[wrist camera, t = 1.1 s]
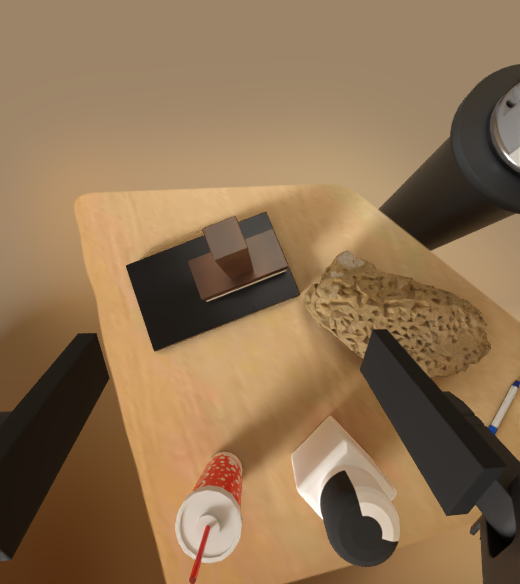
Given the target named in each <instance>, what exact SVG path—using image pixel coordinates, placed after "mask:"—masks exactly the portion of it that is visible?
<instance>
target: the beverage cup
mask: <svg viewBox="0 0 520 584" xmlns="http://www.w3.org/2000/svg"><path fill="white" fill-rule="evenodd" d="M242 473H243V469H242V465H241V462H240V460H239V459H238V458H237V456H235V455H234V454H232V453H231V452H225V451H223V452H219V453H216V454H215V455H214V456H212V457H211V459H210V460H209V462H208V464H207V466H206V467H205V469H204V471H203V473H202V475H201V476H200V478H199V480H198V482H197V484H196V485H195V487H194V489H193V491H192V493H190V494H189V495H188V496H187V497H186V499H185V500H184V502H183V504H182V506H181V507H180V509H179V511H178V513H177V518H176V525H175V530H176V535H177V540H178V543H179V544H180V546H181V547H182V549H183V551H184V552H185V554H187V555H188V556H190V557H191V558H193V559H194V560H195V563H194V566H193V569H192V573H191V576H190V580H189V581H190V583H191V584H194V583H195V582H196V579H197V575H198V571H199V568H200V564H201V562H203V563H209V564H210V563H214V562H218V561H221V560H223V559H224V558H226V557H227V556H228V555H229V554H231V553H232V552H233V551H234V549H235V547H236V545H237V543H238V542H239V540H240V534H241V527H242V515H241V511H240V506H241V490H242Z"/></svg>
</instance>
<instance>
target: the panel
mask: <svg viewBox="0 0 520 584" xmlns="http://www.w3.org/2000/svg"><path fill="white" fill-rule="evenodd" d="M238 224H239V226H240V229H241V231H242V234H243V236H244V239H246V238H249V237H252V236H254V235H257V234H259V233H262V232H265V231H267V230H270V229H273V227H272V224H271V222H270V220H269V217H268V215H267V212H264V213H261V214H259V215H256V216H253V217H251V218H248V219H246V220H243V221H240V222H238ZM273 230H274V229H273ZM275 235H276V234H275ZM277 240H278V239H277ZM278 242H279V241H278ZM280 247H281V246H280ZM210 252H211V251H210V248H209V246H208V243H207V241H206V238H205V235H204V236H201V237H199V238H196V239H194V240H191V241H188V242H186V243H183V244H181V245H178V246H175V247H173V248H170V249H168V250H165V251H162V252H160V253H157V254H155V255H152V256H149V257H147V258H144V259H142V260H139V261H136V262H134V263H131V264H129V265H126V268H127V271H128V274H129V277H130V280H131V283H132V286H133V289H134V292H135V295H136V298H137V301H138V304H139V307H140V310H141V313H142V316H143V319H144V322H145V325H146V328H147V331H148V334H149V337H150V340H151V343H152V346H153V349H154V351H158V350H161V349H164V348H166V347H169V346H171V345H174V344H177V343H179V342H182V341H184V340H187V339H189V338H192V337H195V336H197V335H200V334H202V333H205V332H207V331H210V330H212V329H215V328H218V327H220V326H223V325H225V324H228V323H230V322H233V321H235V320H238V319H241V318H243V317H246V316H248V315H251V314H253V313H256V312H258V311H261V310H264V309H266V308H269V307H271V306H274V305H276V304H279V303H282V302H284V301H287V300H289V299H292V298H294V297H297V296H299V295H300V293H299V290H298V288H297V285H296V283H295V280H294V278H293V276H292V273H291V271H290V268H289V266H288V268H287V271H285V272H282V273H280V274H277V275H275V276H272V277H270V278H267V279H264V280H262V281H259V282H257V283H254V284H252V285H249V286H246V287H244V288H241V289H239V290H236V291H234V292H231V293H228V294H226V295H223V296H221V297H218V298H216V299H213V300H210V301H208V302H207V301H204V300H202V299H201V297H200V294H199V291H198V288H197V286H196V283H195V280H194V277H193V275H192V272H191V269H190V266H189V264H188V261H189V260H192V259H195V258H197V257H200V256H202V255H205V254H208V253H210ZM282 252H283V251H282ZM284 257H285V256H284ZM285 259H286V258H285ZM287 264H288V263H287Z"/></svg>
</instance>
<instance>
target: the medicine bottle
mask: <svg viewBox="0 0 520 584" xmlns="http://www.w3.org/2000/svg"><path fill="white" fill-rule="evenodd" d="M291 459H292V465H293V470H294V476H295V481H296V487H297V491H298V493H299V494H300V495H301V496H302V497H303V498H304V499H305V500H306V502H307V503H308V504H309V505H310V506H311V507H312V508H313V509H314V510H315V512H316V513H317V514H318V515H319V516H320V517H321V518H322V519H323V521H324V524H325V528H326V531H327V535H328V538H329V541H330V543H331V545H332V547H333V548H334V550H335V551H336V552H337V554H338V555H339V556H340V557H342V558H343V559H344V560H346V561H347V562H349V563H351V564H354V565H357V566H362V567H371V566H376V565H379V564H381V563H383V562H384V561H386V560H387V559H388V558H389V557H390V556H391V555H392V553H393V552H394V550H395V548H396V546H397V544H398V541H399V537H400V520H399V516H398V513H397V511H396V509H395V507H394V505H393V504H392V502H391V501H392V500H393V499H394V498H395V497H396V496H397V491H396V490H395V488H394V487H393V486H392V484H391V483H390V482H389V481H388V479H387V478H386V477H385V475H384V474H383V473H382V471H381V470H380V469H379V467H378V466H377V465H376V464H375V462H374V461H373V460H372V458H371V457H370V456H369V455H368V454H367V453H366V452H365V451H364V450H363V449H362V447H361V446H360V445H359V444H358V443H357V442H356V441H355V440H354V439H353V438H352V437H351V436H350V435H349V434H348V433H347V432H346V431H345V430H344V429H343V428H342V426H341V425H340V424H339V423H338V422H337V421H336V420H335V419H334V418H333V417H332V416H328V417H327V418H326V419H325V420H324V421H323V422H322V423H321V424H320V425H319V426H318V428H317V429H316V430H315V431H314V432H313V433H312V434H311V435H310V436H309V437H308V438H307V439H306V440H305V441H304V442H303V443H302V444H301V445H300V446H299V447H298V448H297V449H296V450H295V451H294V452H293V453H292V455H291Z"/></svg>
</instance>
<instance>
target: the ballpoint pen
mask: <svg viewBox="0 0 520 584" xmlns="http://www.w3.org/2000/svg"><path fill="white" fill-rule="evenodd" d="M519 384H520V382H519V381H517V380H516V381H515V383H514V384H513V385H512V386H511V388H510V390H509V392H508V394H507V396H506V398H505V399H504V401H503V403H502V405H501V407H500V409H499V411H498V413H497V414H496V416H495V418H494V420H493V422H492V424H491V425H490V427H489V428H488V429H489V430H490V431H491V432H492V433H493V434H495V433H496V430H497V428H498V426H499V424H500V422H501V420H502V419H503V417H504V415H505V413H506V411H507V409H508V407H509V405H510V403H511V402H512V400H513V398H514V396H515V394H516V392H517V390H518V388H519Z"/></svg>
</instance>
